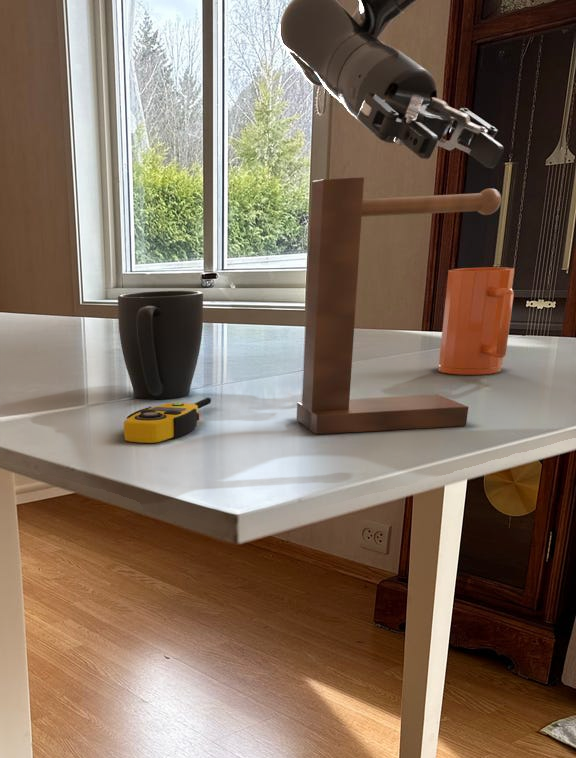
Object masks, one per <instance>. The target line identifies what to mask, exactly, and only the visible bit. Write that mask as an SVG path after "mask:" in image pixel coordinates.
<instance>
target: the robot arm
mask: <svg viewBox="0 0 576 758" xmlns="http://www.w3.org/2000/svg"><path fill="white" fill-rule="evenodd" d="M358 1H359V4H358V6H357V8H356V9H355V11H354V13H353V14H352V15H351V14H350V13H349V12H348V11H347V10H346V8H344V5H342V4H341V3H340V2H339V1H338V0H291V1H290V2H289V3H288V4H287V6H286V7H285V9H284V11H283V14H282V16H281V18H280V23H279V37H280V42H281V44H282V46H283V48H284V50H286V52H287V54H288V55H289V57H290V58H291V59H292V60H293V62H294V64H295V65H296V66H297V68H298V69H299V70H300V72H301V73H302V75H303V76H304V78H305V79H306V80H307V81H308V82H309V83H310V84H311V85H313V86H316V87H324V88H325V89H326V90H327V91H328V92H329V94H331V96H333V97H334V98H335V99H336V100H337V101H338V102H339V103H341V104H342V105H343V106H344V107H345V108H346V110H347V111H348V112H349V114H350V115H351V116H352V117H354V118H355V119H356V121H358V122H359V123H360V124H362V126H364V127H365V128H366V129H367V130H369V131H370V132H371V133H372V134H373V135H374V136H376V137H377V138H378V139H379V140H380V141H383V142H384V143H387V144H397V145H398V146H406V147H407V149H409V150H410V151H412V152H413V154H415V155H416V156H418V157H419V158H420V159H422V160H423V159H424V160H429V159H430V158H431V156H432V155H433V152H434V150H435V148H436V146H438V147H440V148H442V149H444V150H446V151H452V150H454V149H457V150H460V151H462V152H464V153H467V155H469V156H471V157H472V158H473V159H475V160H476V161H477V162H479V163H480V164H481V165H483V166H484V168H488V169H494V168H495V167H497V164H498V163H499V161H500V159H501V157H502V155H503V153H504V150H505V148H504V145H502V144H501V143H500V142H499V141H497V140H496V139H494V138H495V137H496V135H497V133H498V131H499V130H498V129H497V128H496V127H495V126H493V125H492V124H490V123H488V122H487V121H485V120H484V119H483V118H481V117H479V115H477V114H475V113H473V111H471V110H469V108H466V107H460V108H459V109H456V108H453V107H451V106H450V105H449V104H448V103H447V102H446V101H445V100H442V99H441V98H438V91H437V90H438V89H437V88H438V87H437V83H436V80H435V78H434V76H433V74H431V73H430V71H428V70H427V69H425V67H423V66H422V65H420V64H418V63H417V62H416V61H415V60H413V59H412V58H410V56H408V55H406V54H404V53H403V52H402V51H401V50H399V49H397V48H396V47H394V46H391V45H389V44H386V43H385V42H383V41H382V40H380V37H382V34H384V32H385V31H386V30H387V29H388V27H389V26H390V25H391V24H392V23H393V22H395V20H396V19H397V18H399V17H400V16H402V15H403V14H404V13H406V12H407V11H408V10H410V9H412V7H413V6H415V5H416V4H417V3H419V2H420V1H421V0H358ZM449 128H450V129H449ZM448 130H449V134H451V137H450V139H449V140H448V139H444V137H445V136H446V135H447V134H448Z"/></svg>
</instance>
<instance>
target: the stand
mask: <svg viewBox="0 0 576 758" xmlns="http://www.w3.org/2000/svg"><path fill="white" fill-rule="evenodd" d="M364 186H365V177H363V176H360V177H359V176H357V177H342V178H341V177H339V178H338V177H337V178H323V179H317V180H313V181H312V182H311V198H310V199H311V200H310V223H309V225H310V226H309V241H308V242H309V243H308V244H309V245H308V266H307V287H306V306H305V307H306V310H305V330H304V331H305V333H304V353H303V374H302V376H303V377H302V394H301V395H302V399H301V401H298V402H297V403H296V421H297V422H298V423H300V424H301V425H302V426H304V427H305V428H307V429H308V430H309V431H311V432H312V433H313V434H314V435H329V434H331V435H333V434H346V433H347V434H348V433H365V432H379V431H380V432H381V431H396V430H397V431H398V430H399V431H400V430H414V429H415V430H416V429H432V428H434V429H435V428H448V427H449V428H451V427H467V422H468V414H469V406H468V405H465V404H463V403H460V402H458V401H455V400H453V399H450V398H448V397H445V396H443V395H441V394H438V393H437V394H436V393H435V394H421V395H419V394H418V395H402V396H400V395H399V396H385V397H367V398H351V384H352V368H353V355H354V354H353V352H354V338H355V324H356V322H355V321H356V307H357V294H358V293H357V291H358V277H359V261H360V247H361V246H360V245H361V234H362V233H361V232H362V219H363V218H365V217H366V218H368V217H386V216H388V217H389V216H407V215H425V214H446V213H447V214H448V213H466V212H468V213H469V212H478V213H479V214H481V215H483V216H489V215H493V214H494V213H496V211H498V209H499V208H500V206H501V204H502V195H501V193H500V191H499V190H497V189H496V188H493V187H492V188H490V187H489V188H485V189H483V190H481V191H480V192H476V193H457V194H436V195H418V196H415V195H414V196H399V197H398V196H397V197H377V198H364V188H365V187H364ZM350 398H351V399H350Z"/></svg>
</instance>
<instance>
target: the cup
mask: <svg viewBox="0 0 576 758" xmlns="http://www.w3.org/2000/svg"><path fill="white" fill-rule="evenodd" d="M447 272H448V274H447V282H446V291H445V300H444V311H443V318H442V319H443V321H442V328H441V339H440V349H439V359H438V368H437V370H438V372H440V373H443V374H448V375H457V376H458V375H459V376H460V375H462V376H463V375H464V376H469V375H470V376H481V375H492V374H496V373H500V372H501V371H502V366H503V360H504V357H506V355H507V349H508V341H509V334H510V326H511V319H512V313H513V312H512V310H513V305H514V304H513V303H514V296H515V293H514V292H515V291H514V290H513V283H514V275H515V268H514V267H510V266H509V267H506V266H495V267H493V266H491V267H488V266H487V267H485V266H484V267H461V268H453V269H448V271H447Z"/></svg>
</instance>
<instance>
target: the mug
mask: <svg viewBox="0 0 576 758" xmlns="http://www.w3.org/2000/svg"><path fill="white" fill-rule="evenodd" d="M117 313H118V314H117V315H118V316H117V317H118V333H119V339H120V346H121V352H122V357H123V360H124V365H125V368H126V371H127V374H128V377H129V380H130V384H131V387H132V392H133V395H134V397H136V398H140V399H147V400H148V399H149V400H167V399H176V398H182V397H186V396H188V395H190V392H191V387H192V383H193V379H194V375H195V372H196V368H197V365H198V360H199V356H200V350H201V344H202V339H203V328H204V293H203V292H202V291H198V290H157V291H142V292H140V291H139V292H129V293H124V294H120V295H118V296H117Z"/></svg>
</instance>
